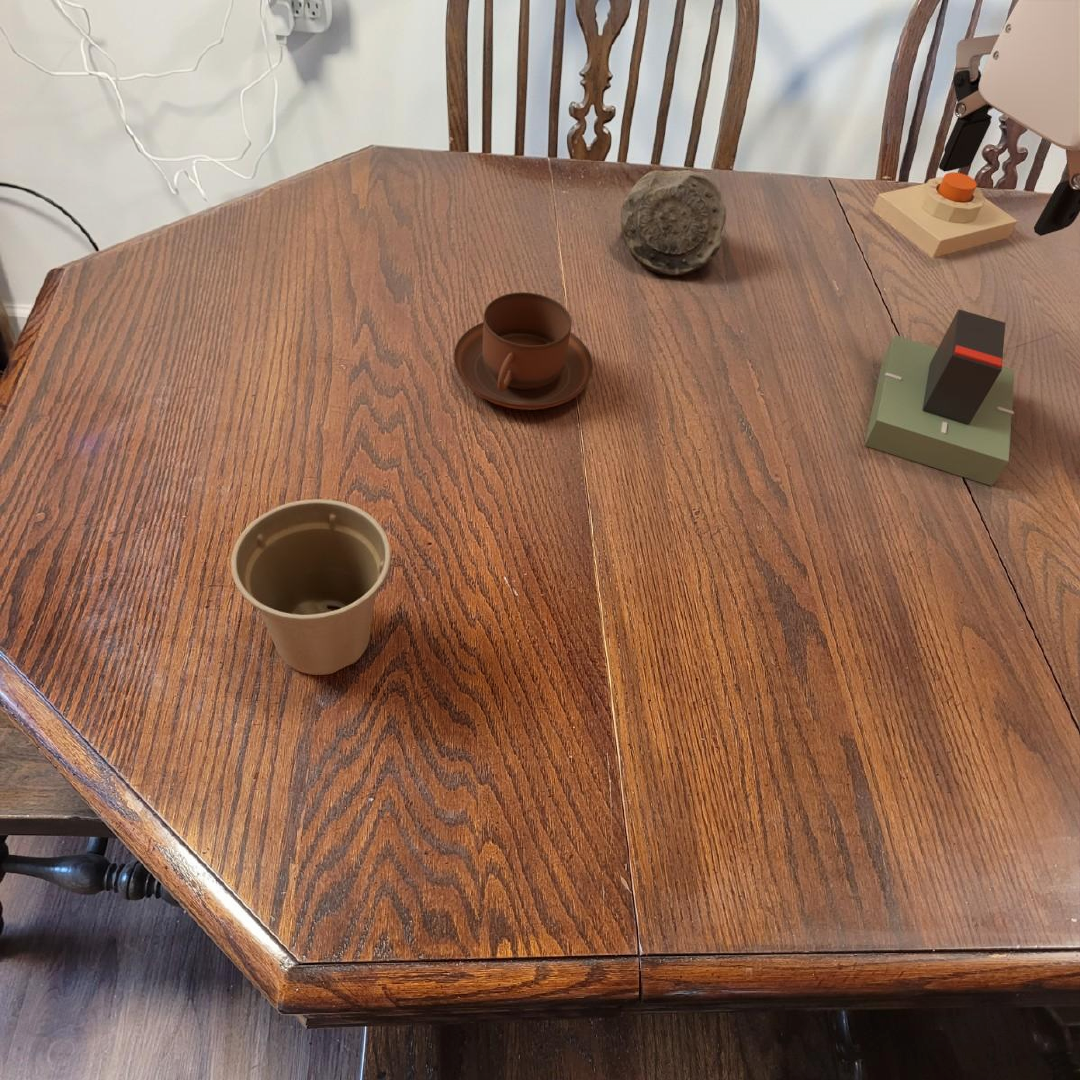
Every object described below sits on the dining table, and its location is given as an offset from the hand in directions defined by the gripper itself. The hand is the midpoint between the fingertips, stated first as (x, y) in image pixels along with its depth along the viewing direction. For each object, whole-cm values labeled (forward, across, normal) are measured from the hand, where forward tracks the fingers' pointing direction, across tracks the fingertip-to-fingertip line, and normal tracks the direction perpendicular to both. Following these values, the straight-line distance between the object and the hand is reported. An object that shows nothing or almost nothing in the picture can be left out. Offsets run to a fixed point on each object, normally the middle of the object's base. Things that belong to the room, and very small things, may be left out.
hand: (999, 197), depth 73 cm
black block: (+16, -5, +1) cm, 17 cm away
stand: (+19, -5, +1) cm, 20 cm away
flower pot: (+19, -3, +58) cm, 61 cm away
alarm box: (+19, +20, -25) cm, 37 cm away
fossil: (+19, +27, +9) cm, 34 cm away
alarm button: (+15, +20, -25) cm, 35 cm away
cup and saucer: (+19, +16, +32) cm, 40 cm away
